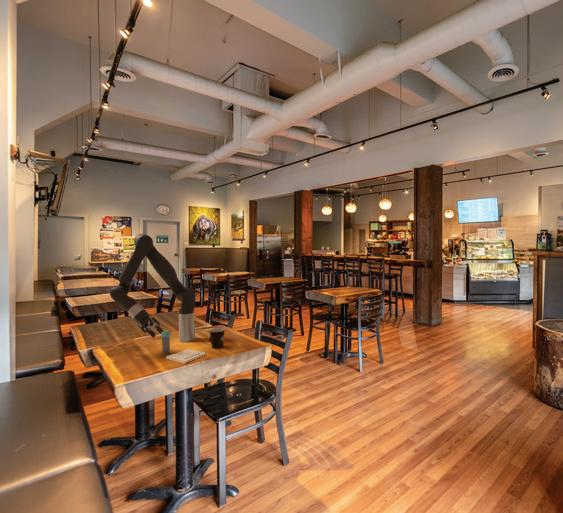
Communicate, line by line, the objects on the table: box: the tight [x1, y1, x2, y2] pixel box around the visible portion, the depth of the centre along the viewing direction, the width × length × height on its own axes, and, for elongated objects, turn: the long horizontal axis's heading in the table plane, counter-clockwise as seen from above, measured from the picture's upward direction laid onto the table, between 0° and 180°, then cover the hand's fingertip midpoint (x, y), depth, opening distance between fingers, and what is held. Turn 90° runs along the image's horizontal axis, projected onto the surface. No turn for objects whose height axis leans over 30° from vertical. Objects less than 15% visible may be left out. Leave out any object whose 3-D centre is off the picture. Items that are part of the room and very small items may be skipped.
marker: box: [161, 330, 171, 355], centre depth 181 cm, size 4×4×12 cm
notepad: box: [165, 348, 207, 364], centre depth 174 cm, size 15×14×1 cm
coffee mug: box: [209, 327, 226, 350], centre depth 190 cm, size 12×9×10 cm
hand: (158, 334), depth 181 cm, fingers open, 8 cm apart
